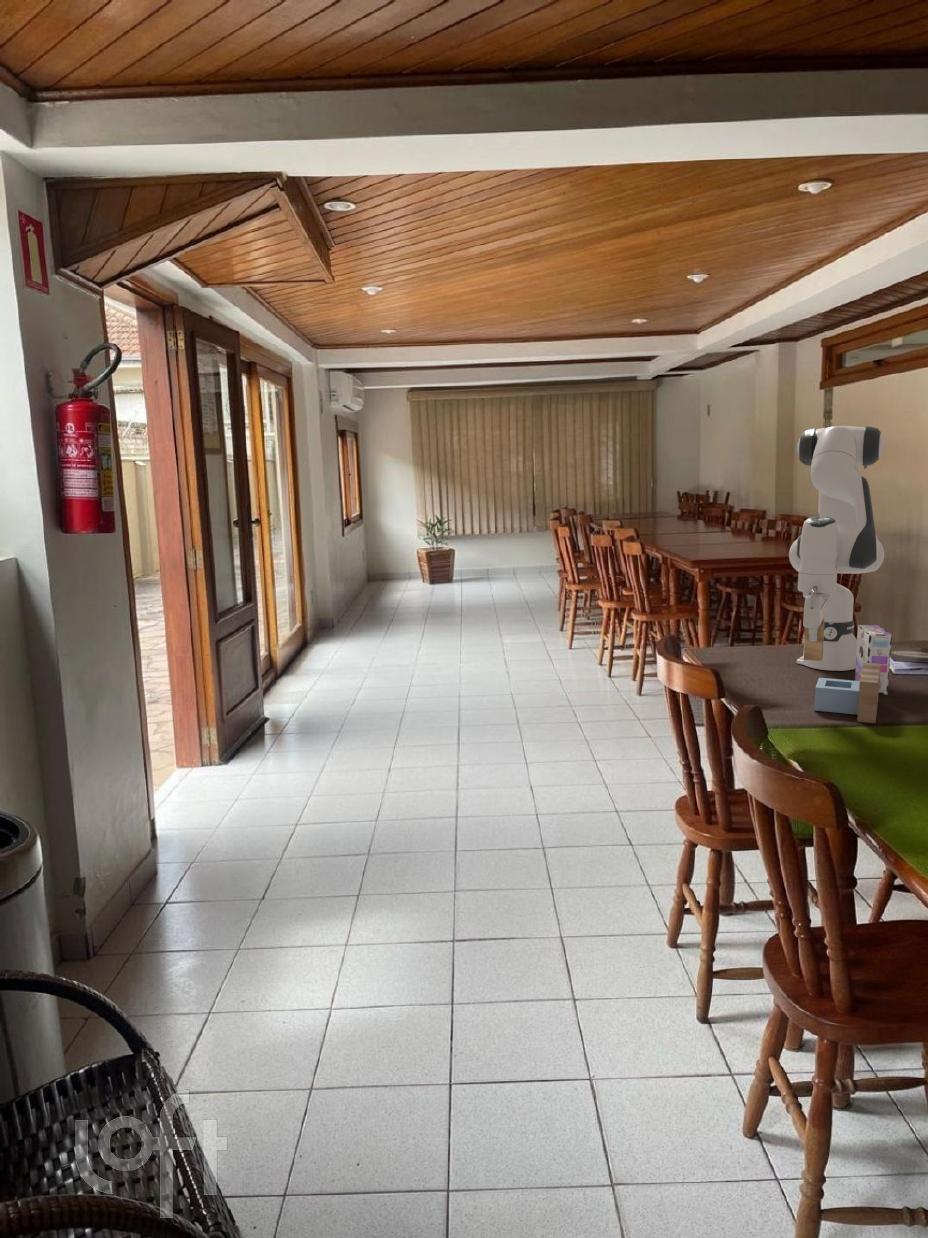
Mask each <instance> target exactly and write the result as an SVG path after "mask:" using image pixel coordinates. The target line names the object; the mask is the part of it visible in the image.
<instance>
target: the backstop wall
mask: <svg viewBox="0 0 928 1238" xmlns="http://www.w3.org/2000/svg"><path fill="white" fill-rule="evenodd" d="M879 680H880V664H878V663H865V662H864V663H863V668H862V673H861V677H860V685H859V701H858V715H857V719H856V721H857V722H860V723H862V722H863V723H868V724H869V723H872V724H876V722H877V713H878V704H879V696H880V694H879Z"/></svg>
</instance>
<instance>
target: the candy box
mask: <svg viewBox="0 0 928 1238" xmlns="http://www.w3.org/2000/svg"><path fill="white" fill-rule="evenodd" d="M856 629H857V632H856V633H857V635H856V639H857V650H856V669H854V670H855V672H854V673H855V674H854V681H860V677H861V673H862V668H863V663H864V662H865V663H878V664H880V680H879V695H886V696H887V695H888V694H889V680H890V667H891V654H892V653H891V652H892V639H893V635H892V634H891V633H890V632H888V631H886V630H885V629H884V628H883V627H881V625H880V624H879V625H878V624H858V625H857V628H856Z"/></svg>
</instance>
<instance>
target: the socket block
mask: <svg viewBox="0 0 928 1238" xmlns="http://www.w3.org/2000/svg"><path fill="white" fill-rule="evenodd" d="M859 685H860V681H855V680H851V679H850V680H849V679H838V678H825V677H819V678H818V680H817V682H816V685H815V688H814V689H815V690H814V691H815V692H814V711H817V712H827V713H836V714H837V713H839V714H847V715H848V714H849V715H856V716H858V701H859Z"/></svg>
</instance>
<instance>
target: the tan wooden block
mask: <svg viewBox="0 0 928 1238" xmlns="http://www.w3.org/2000/svg"><path fill="white" fill-rule="evenodd" d="M824 622H825V618H823V620H822V622H821V624H820V626H819V628H818V633H817V634H818V636H817V641H815V642H813V641H809V628H806V627H804V629H805V630H804V631H805V632H804V641H805V646H804V645H803V653H804V660H814V661H821V660H822V658H823V641H824Z"/></svg>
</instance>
